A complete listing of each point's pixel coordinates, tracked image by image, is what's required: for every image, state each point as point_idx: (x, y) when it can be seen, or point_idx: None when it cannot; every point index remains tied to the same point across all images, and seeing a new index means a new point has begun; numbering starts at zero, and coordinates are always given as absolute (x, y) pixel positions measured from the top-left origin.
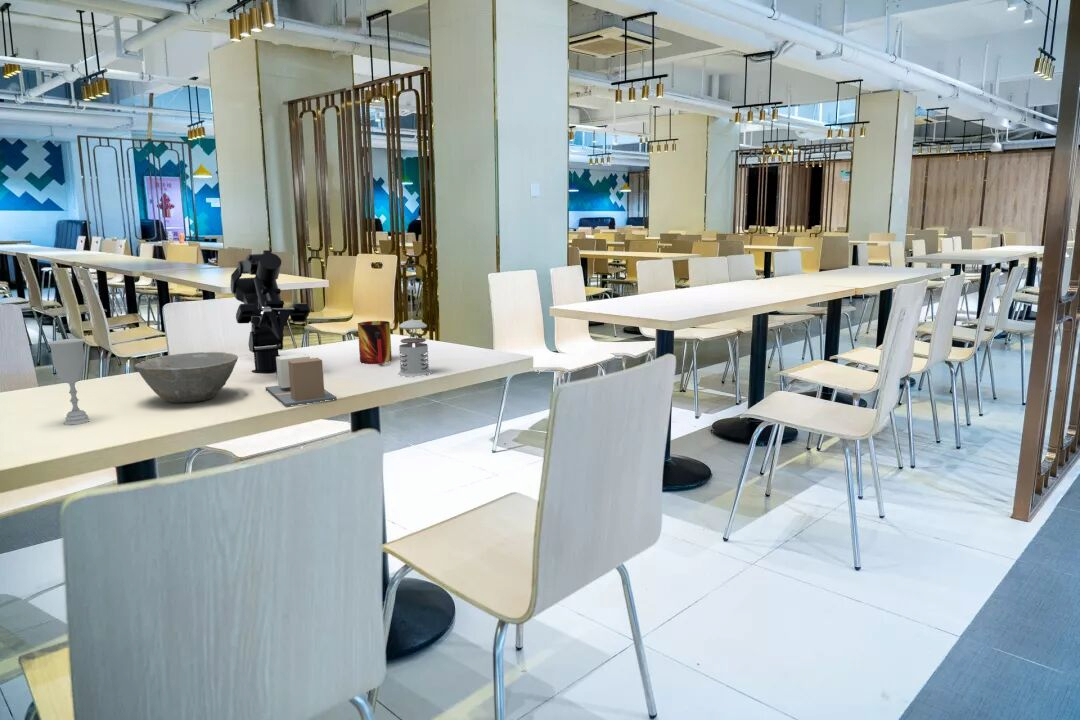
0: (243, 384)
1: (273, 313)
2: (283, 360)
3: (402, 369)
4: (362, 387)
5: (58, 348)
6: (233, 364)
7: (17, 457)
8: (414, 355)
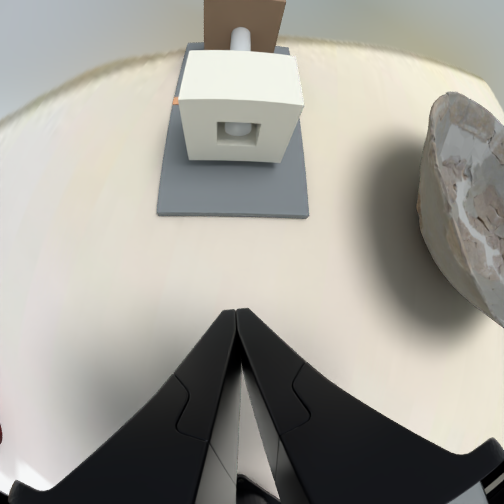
0: (349, 350)
1: (356, 498)
2: (284, 57)
3: None
4: (87, 114)
5: None
6: (427, 132)
7: (496, 102)
8: None
